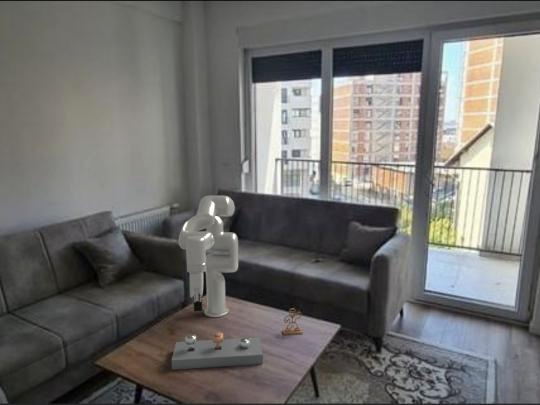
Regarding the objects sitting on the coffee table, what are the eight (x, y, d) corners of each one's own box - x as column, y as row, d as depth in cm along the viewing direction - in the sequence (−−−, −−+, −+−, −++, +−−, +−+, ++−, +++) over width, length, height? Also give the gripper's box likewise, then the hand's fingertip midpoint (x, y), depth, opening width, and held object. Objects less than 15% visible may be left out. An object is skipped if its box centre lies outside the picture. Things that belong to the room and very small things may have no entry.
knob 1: (186, 346, 164) (185, 333, 163) (197, 346, 164) (196, 332, 163) (185, 352, 159) (184, 338, 158) (196, 351, 160) (195, 338, 159)
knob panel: (176, 350, 169) (176, 342, 168) (260, 345, 172) (260, 337, 172) (172, 369, 155) (171, 360, 154) (262, 363, 159) (262, 354, 158)
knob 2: (239, 350, 166) (239, 337, 165) (249, 349, 167) (249, 336, 166) (239, 356, 162) (239, 342, 161) (250, 355, 163) (250, 341, 162)
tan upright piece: (283, 335, 181) (283, 310, 179) (282, 331, 185) (282, 307, 183) (302, 334, 182) (302, 309, 180) (301, 330, 186) (301, 306, 184)
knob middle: (212, 345, 165) (212, 331, 164) (223, 344, 165) (223, 331, 164) (212, 350, 160) (212, 337, 160) (223, 350, 161) (223, 336, 160)
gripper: (188, 261, 163) (189, 303, 166) (185, 273, 148) (187, 319, 151) (206, 260, 164) (207, 302, 167) (205, 272, 149) (207, 317, 152)
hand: (198, 310), depth 159 cm, fingers closed
